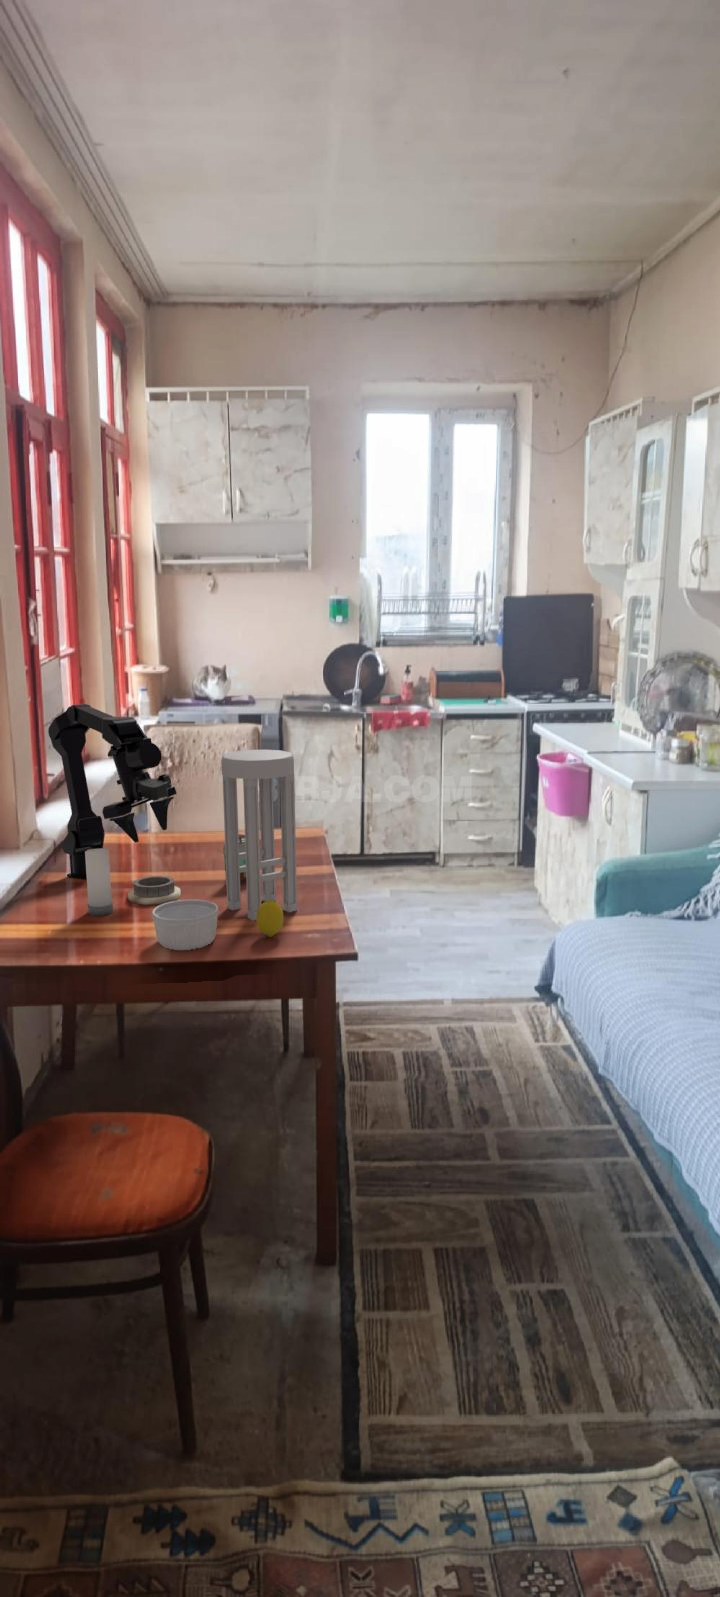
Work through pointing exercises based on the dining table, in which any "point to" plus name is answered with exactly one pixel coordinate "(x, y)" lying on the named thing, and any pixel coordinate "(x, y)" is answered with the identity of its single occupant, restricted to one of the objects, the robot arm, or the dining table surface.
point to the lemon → (269, 918)
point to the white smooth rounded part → (98, 882)
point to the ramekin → (185, 924)
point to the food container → (241, 861)
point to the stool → (250, 770)
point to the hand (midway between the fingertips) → (151, 835)
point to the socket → (154, 890)
